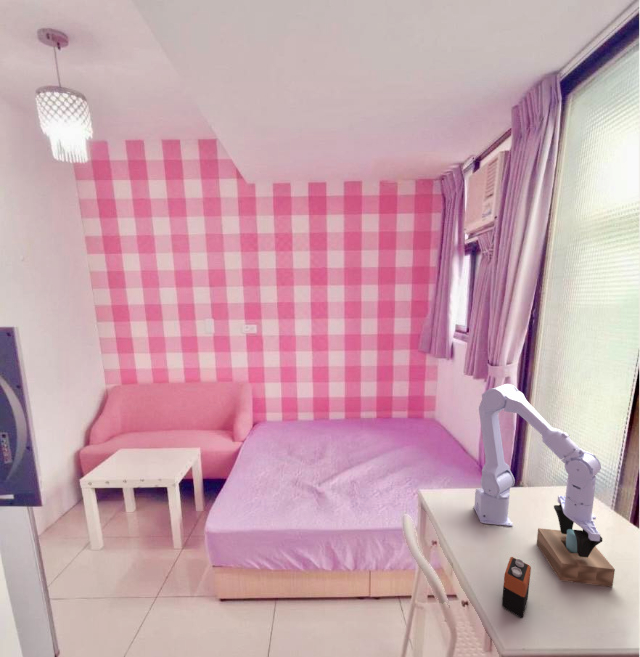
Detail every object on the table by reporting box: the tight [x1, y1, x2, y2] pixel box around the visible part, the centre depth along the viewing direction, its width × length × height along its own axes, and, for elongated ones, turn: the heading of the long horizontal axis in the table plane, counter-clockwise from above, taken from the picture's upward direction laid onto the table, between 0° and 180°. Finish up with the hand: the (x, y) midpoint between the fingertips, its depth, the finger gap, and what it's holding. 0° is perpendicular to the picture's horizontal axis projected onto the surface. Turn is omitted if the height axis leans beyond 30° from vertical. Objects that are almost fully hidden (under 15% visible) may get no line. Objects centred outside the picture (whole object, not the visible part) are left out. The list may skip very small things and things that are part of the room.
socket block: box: [536, 527, 616, 588], centre depth 88 cm, size 12×12×5 cm
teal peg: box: [566, 528, 577, 553], centre depth 87 cm, size 3×3×8 cm
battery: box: [501, 556, 532, 619], centre depth 77 cm, size 4×7×10 cm, turn 138°
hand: (573, 544), depth 87 cm, fingers open, 7 cm apart
